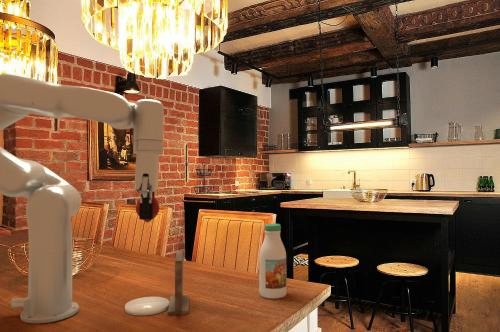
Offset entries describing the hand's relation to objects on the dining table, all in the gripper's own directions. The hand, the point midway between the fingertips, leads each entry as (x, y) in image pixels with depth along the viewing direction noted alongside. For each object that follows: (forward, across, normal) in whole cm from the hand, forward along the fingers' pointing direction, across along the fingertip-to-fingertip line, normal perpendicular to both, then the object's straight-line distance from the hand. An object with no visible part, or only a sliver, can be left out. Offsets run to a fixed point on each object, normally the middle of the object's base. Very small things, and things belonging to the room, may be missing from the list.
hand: (147, 217), depth 96 cm
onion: (+2, 0, 0) cm, 2 cm away
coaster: (+23, 0, 0) cm, 23 cm away
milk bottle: (+23, -5, +34) cm, 42 cm away
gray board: (+23, 0, +8) cm, 25 cm away
